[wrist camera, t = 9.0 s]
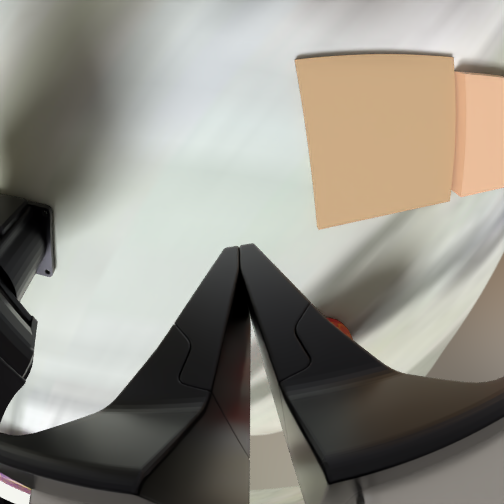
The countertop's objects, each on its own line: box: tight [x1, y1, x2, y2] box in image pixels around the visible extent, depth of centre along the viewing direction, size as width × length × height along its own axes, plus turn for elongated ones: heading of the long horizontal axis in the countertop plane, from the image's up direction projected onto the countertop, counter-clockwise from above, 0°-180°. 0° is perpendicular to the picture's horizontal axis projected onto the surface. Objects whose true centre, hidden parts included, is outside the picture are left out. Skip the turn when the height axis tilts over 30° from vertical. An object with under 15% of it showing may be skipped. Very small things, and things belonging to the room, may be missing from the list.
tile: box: [451, 71, 504, 197], centre depth 19 cm, size 2×10×10 cm
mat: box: [295, 54, 456, 230], centre depth 19 cm, size 12×12×1 cm
